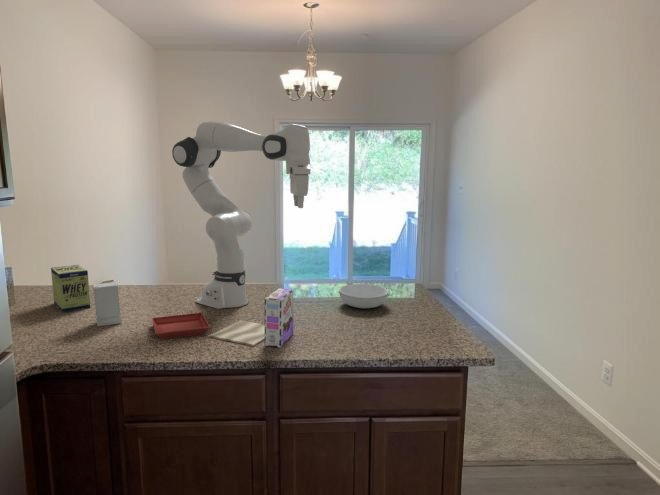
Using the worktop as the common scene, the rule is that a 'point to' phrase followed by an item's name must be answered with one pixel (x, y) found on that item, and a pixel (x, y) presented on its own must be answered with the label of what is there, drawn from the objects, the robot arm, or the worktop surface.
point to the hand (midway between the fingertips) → (298, 207)
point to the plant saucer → (180, 325)
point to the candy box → (278, 317)
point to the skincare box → (107, 303)
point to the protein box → (70, 288)
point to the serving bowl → (363, 295)
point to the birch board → (242, 333)
